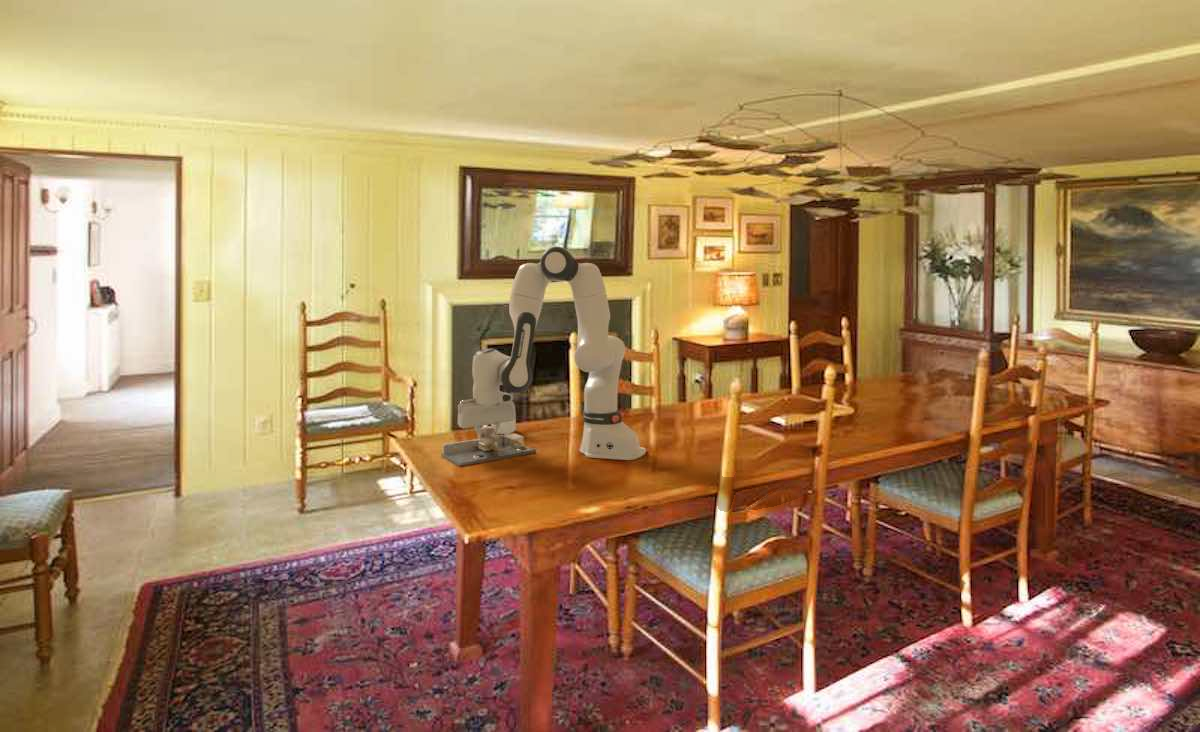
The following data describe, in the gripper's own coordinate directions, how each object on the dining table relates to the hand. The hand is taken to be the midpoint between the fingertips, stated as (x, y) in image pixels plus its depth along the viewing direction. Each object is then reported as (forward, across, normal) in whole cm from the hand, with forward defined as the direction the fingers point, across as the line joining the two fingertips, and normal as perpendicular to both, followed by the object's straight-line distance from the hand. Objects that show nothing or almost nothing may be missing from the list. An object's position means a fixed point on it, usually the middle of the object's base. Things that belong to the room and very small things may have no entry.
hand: (487, 437), depth 252 cm
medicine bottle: (+5, +17, +21) cm, 28 cm away
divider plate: (+5, -1, -3) cm, 6 cm away
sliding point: (+4, 0, -2) cm, 4 cm away
